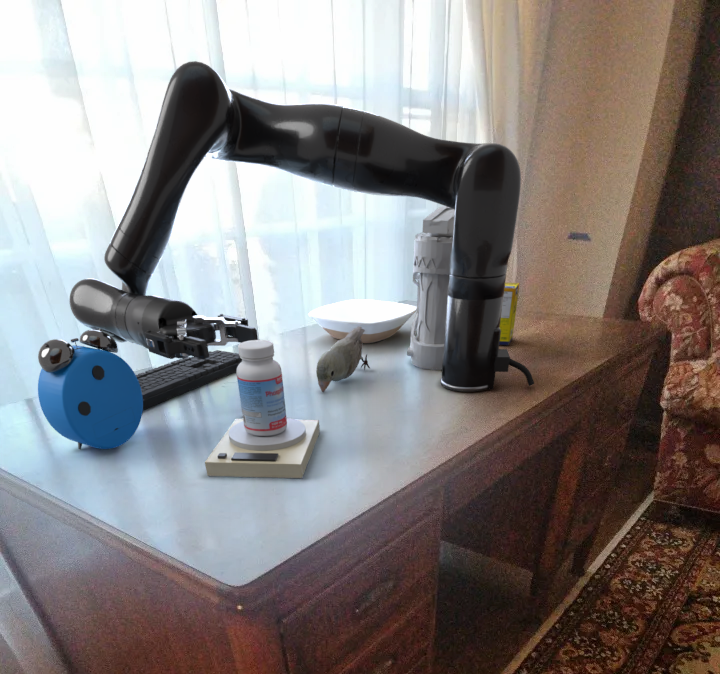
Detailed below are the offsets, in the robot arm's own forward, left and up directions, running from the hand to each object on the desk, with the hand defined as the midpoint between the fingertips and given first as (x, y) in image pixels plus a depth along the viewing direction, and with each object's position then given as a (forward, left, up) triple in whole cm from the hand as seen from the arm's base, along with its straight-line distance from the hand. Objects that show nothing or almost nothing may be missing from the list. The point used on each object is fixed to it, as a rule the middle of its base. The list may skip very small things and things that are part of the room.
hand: (231, 343), depth 77 cm
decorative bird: (-11, -30, -14) cm, 34 cm away
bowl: (-12, -63, -14) cm, 65 cm away
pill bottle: (-4, +3, -11) cm, 12 cm away
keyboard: (+21, -25, -14) cm, 36 cm away
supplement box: (-42, -58, -14) cm, 73 cm away
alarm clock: (+21, +2, -14) cm, 25 cm away
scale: (-4, +4, -13) cm, 15 cm away
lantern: (-29, -43, -14) cm, 53 cm away
